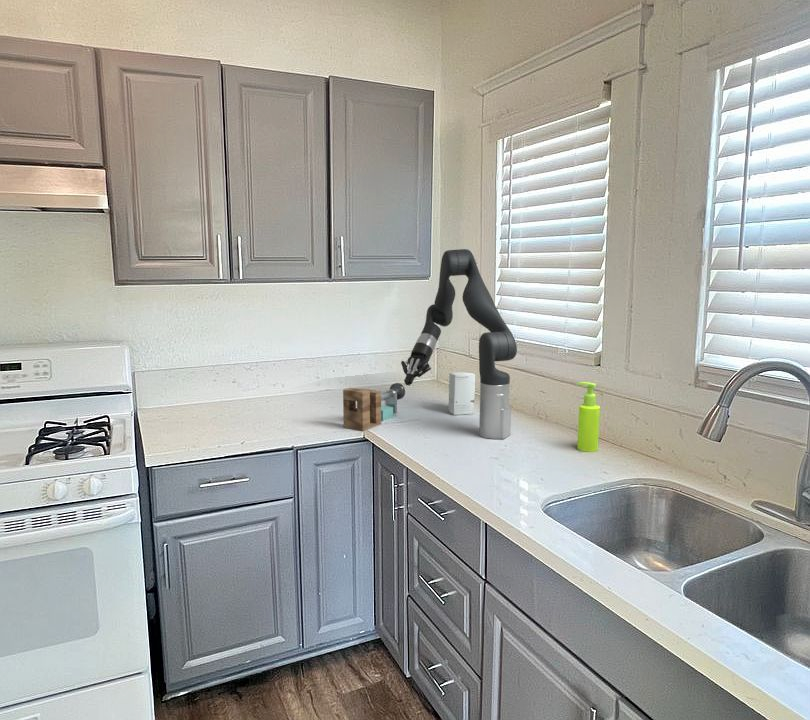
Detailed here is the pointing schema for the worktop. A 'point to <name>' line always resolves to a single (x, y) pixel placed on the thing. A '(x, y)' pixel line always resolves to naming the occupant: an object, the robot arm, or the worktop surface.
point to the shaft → (392, 396)
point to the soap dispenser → (588, 421)
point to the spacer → (386, 412)
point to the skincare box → (461, 393)
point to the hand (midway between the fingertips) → (407, 384)
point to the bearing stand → (361, 408)
